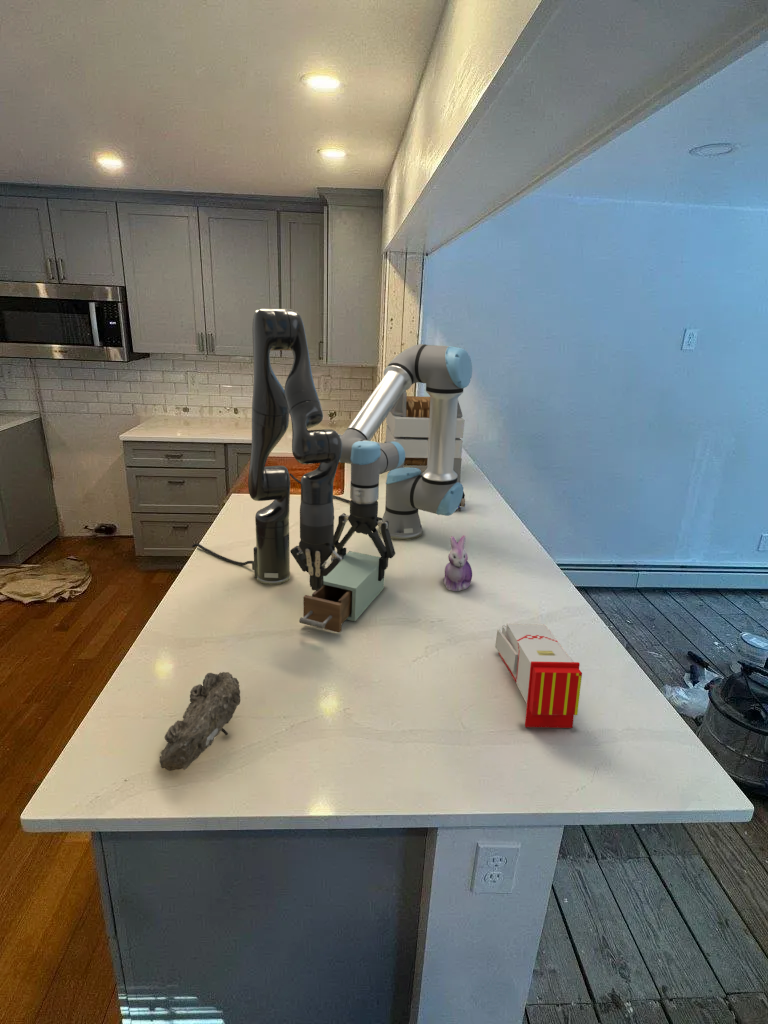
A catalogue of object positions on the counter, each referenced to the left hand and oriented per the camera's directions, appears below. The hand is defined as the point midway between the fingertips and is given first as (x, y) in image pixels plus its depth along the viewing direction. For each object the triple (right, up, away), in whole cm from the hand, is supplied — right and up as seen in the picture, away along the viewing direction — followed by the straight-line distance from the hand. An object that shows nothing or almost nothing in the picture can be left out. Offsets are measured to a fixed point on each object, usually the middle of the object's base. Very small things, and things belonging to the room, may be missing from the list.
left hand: (316, 588), depth 131 cm
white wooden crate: (+33, +37, +143) cm, 152 cm away
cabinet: (+7, -6, +22) cm, 24 cm away
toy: (+47, -19, -10) cm, 52 cm away
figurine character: (+44, +20, +99) cm, 110 cm away
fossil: (-17, -23, -27) cm, 39 cm away
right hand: (+9, 0, +26) cm, 28 cm away
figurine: (+37, -3, +33) cm, 50 cm away
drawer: (+3, -8, +12) cm, 15 cm away
